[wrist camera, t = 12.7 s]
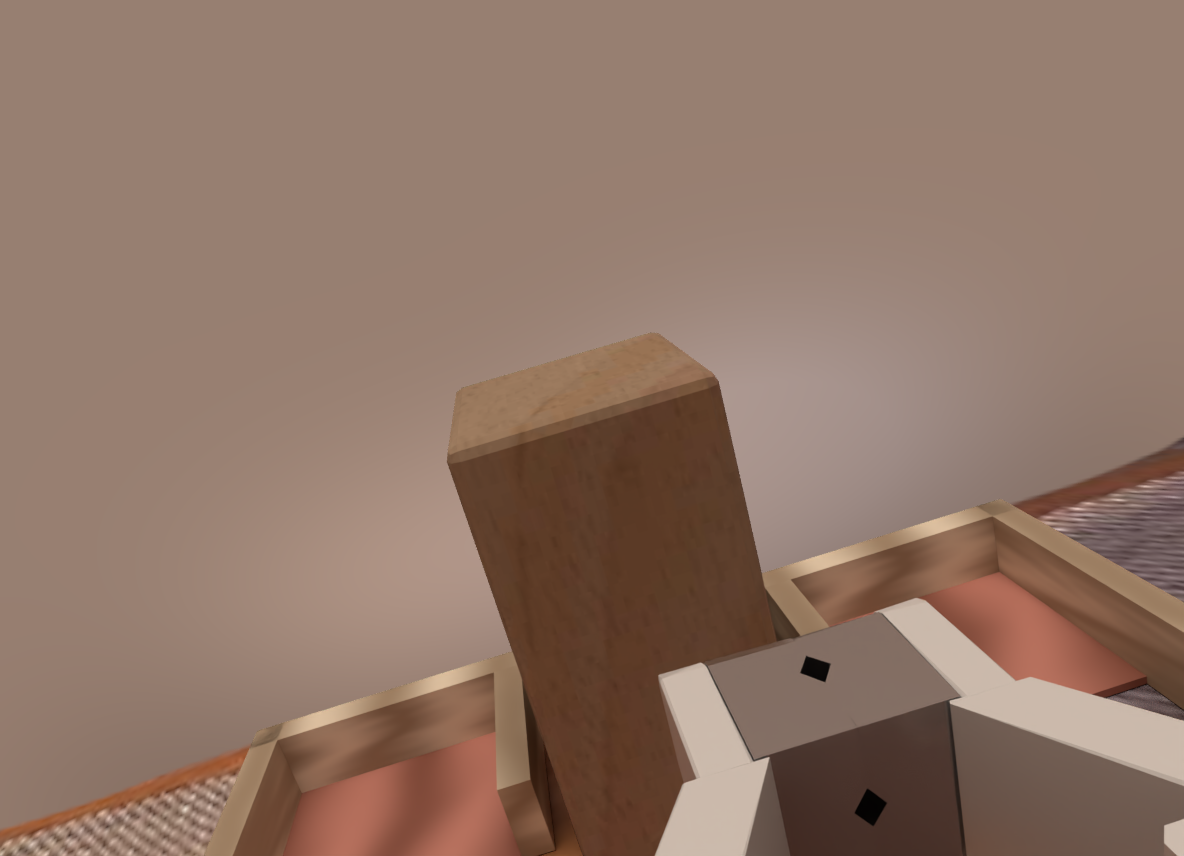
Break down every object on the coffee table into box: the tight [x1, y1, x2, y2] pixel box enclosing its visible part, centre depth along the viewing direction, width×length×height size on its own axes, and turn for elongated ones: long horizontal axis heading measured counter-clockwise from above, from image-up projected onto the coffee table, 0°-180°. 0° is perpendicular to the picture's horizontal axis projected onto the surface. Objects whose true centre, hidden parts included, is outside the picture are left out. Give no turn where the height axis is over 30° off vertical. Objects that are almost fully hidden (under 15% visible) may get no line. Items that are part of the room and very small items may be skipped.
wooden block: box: [447, 333, 777, 856], centre depth 35 cm, size 10×10×20 cm
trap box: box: [204, 499, 1184, 856], centre depth 34 cm, size 44×23×4 cm, turn 98°
